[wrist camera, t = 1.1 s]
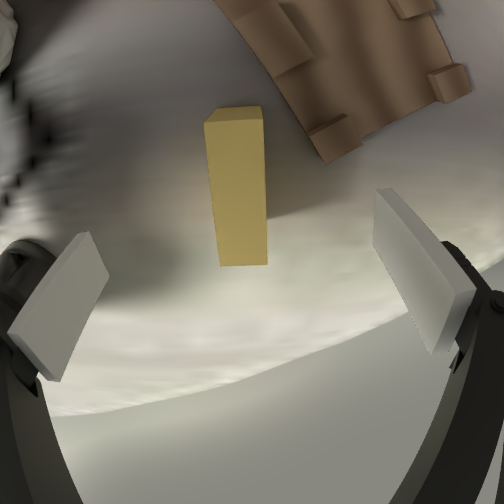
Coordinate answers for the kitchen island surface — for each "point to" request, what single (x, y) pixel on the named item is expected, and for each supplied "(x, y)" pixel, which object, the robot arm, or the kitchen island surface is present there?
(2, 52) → the vase
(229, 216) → the ochre bar
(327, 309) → the kitchen island surface
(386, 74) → the comb rack
